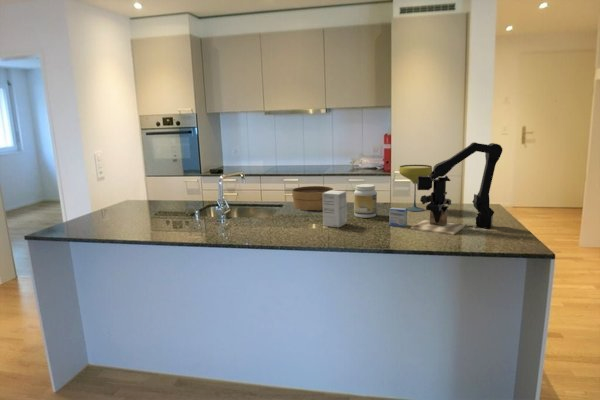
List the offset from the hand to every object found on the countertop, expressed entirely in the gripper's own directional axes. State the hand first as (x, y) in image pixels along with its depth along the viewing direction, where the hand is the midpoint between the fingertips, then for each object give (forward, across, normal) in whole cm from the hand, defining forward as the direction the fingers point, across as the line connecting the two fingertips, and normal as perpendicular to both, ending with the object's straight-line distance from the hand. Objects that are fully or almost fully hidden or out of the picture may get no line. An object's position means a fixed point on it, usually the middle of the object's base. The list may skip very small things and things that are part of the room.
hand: (438, 221), depth 205 cm
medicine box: (+2, +9, -17) cm, 19 cm away
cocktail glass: (+2, -30, -24) cm, 39 cm away
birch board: (+2, +4, +1) cm, 4 cm away
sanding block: (+1, 0, 0) cm, 1 cm away
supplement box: (+2, +23, -45) cm, 50 cm away
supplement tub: (+2, -2, -41) cm, 41 cm away
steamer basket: (+2, -9, -81) cm, 81 cm away
